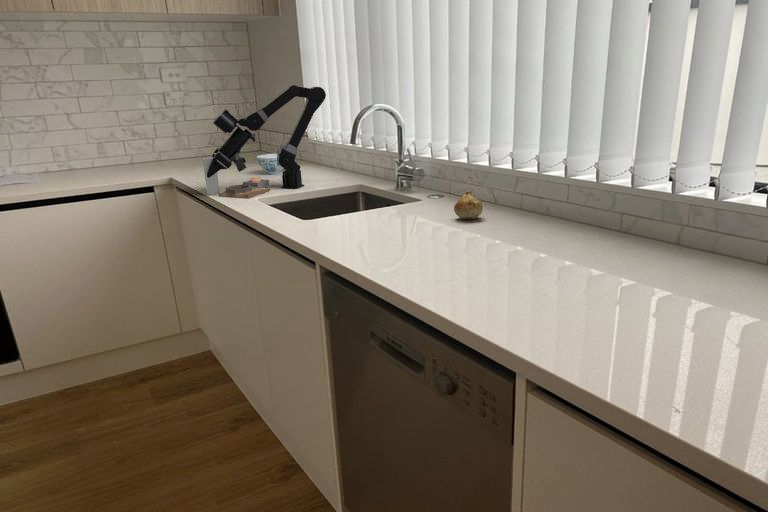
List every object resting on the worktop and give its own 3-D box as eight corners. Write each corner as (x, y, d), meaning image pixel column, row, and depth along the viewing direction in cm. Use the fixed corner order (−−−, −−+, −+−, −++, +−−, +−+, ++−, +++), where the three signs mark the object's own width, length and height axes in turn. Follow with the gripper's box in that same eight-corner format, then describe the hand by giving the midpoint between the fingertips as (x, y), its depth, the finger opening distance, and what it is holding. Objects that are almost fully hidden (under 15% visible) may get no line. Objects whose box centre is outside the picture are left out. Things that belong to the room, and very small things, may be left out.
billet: (219, 192, 212) (215, 157, 208) (219, 194, 208) (215, 158, 204) (207, 193, 211) (202, 157, 207) (207, 195, 207) (202, 159, 203)
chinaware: (276, 169, 261) (274, 152, 259) (299, 172, 253) (298, 154, 251) (251, 174, 250) (249, 157, 248) (275, 177, 241) (273, 158, 239)
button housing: (269, 186, 221) (268, 179, 220) (258, 189, 215) (257, 182, 214) (254, 185, 224) (254, 179, 223) (243, 188, 218) (242, 182, 217)
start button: (263, 183, 220) (263, 177, 219) (257, 185, 216) (256, 179, 216) (255, 183, 222) (254, 177, 221) (248, 185, 218) (248, 178, 217)
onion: (448, 218, 162) (448, 190, 160) (472, 214, 165) (473, 187, 163) (462, 223, 155) (462, 194, 153) (487, 220, 158) (488, 191, 156)
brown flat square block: (270, 191, 210) (269, 184, 209) (248, 198, 199) (247, 190, 198) (242, 189, 216) (241, 182, 215) (219, 196, 204) (218, 188, 204)
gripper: (255, 160, 201) (226, 194, 202) (251, 154, 219) (225, 185, 219) (229, 139, 197) (200, 173, 198) (228, 134, 214) (201, 166, 215)
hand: (207, 175), depth 207 cm, fingers open, 9 cm apart
